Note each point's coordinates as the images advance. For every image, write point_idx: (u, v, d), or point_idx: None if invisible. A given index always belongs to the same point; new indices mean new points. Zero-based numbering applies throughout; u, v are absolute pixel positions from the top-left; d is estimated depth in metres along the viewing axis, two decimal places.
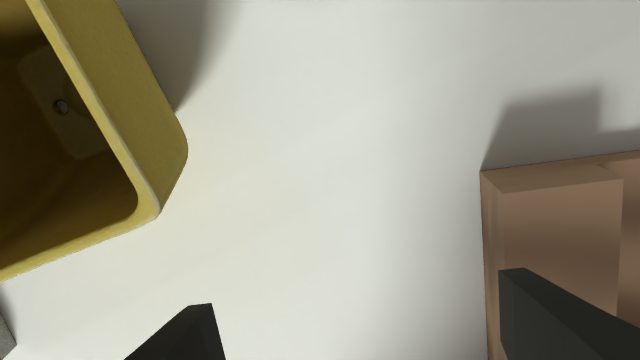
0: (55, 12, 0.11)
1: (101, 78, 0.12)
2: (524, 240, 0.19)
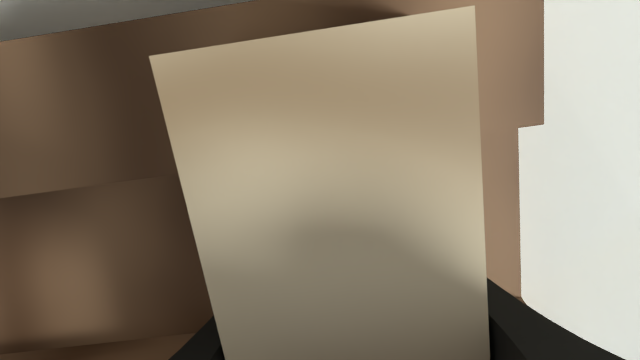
0: None
1: None
2: None
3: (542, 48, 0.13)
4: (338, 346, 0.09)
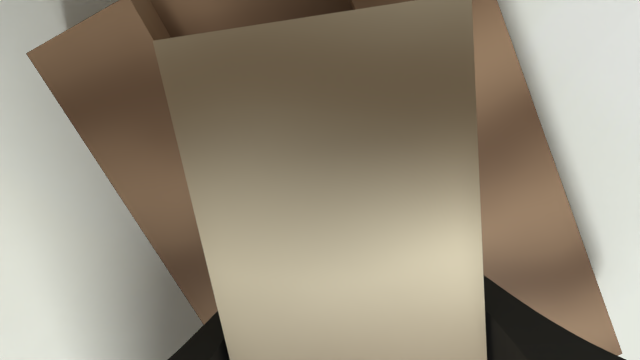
0: None
1: None
2: (76, 95, 0.18)
3: None
4: (337, 329, 0.09)
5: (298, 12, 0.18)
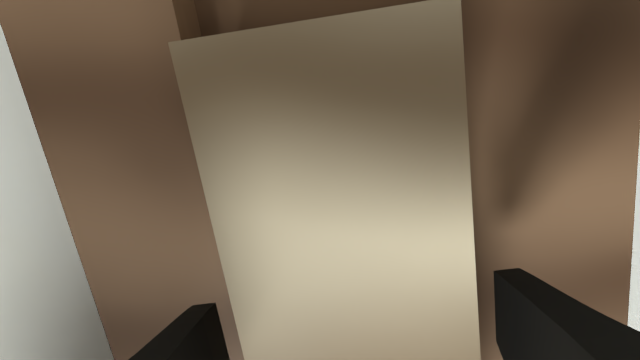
0: None
1: None
2: (47, 75, 0.12)
3: None
4: (339, 310, 0.10)
5: None
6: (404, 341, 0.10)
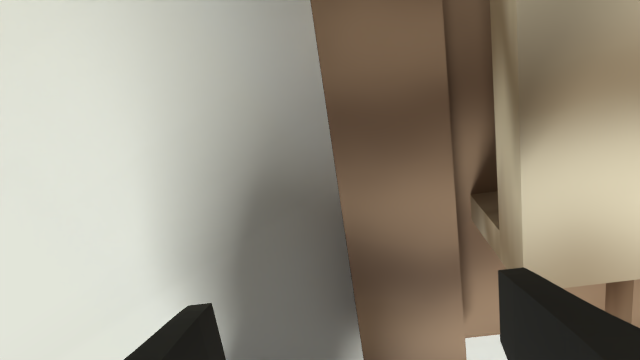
0: None
1: None
2: None
3: None
4: (602, 10, 0.12)
5: None
6: None
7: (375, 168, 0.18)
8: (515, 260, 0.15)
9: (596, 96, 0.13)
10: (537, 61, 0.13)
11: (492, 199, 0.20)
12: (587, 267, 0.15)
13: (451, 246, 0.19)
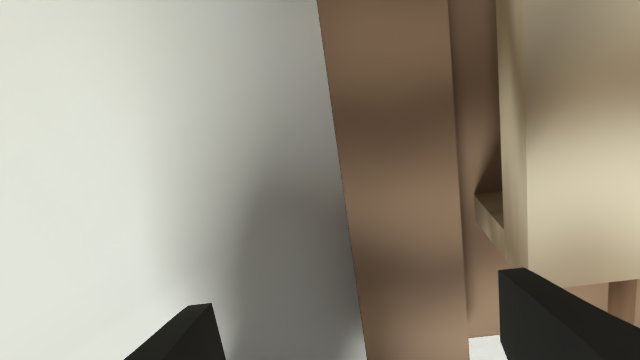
0: None
1: None
2: None
3: None
4: (607, 10, 0.12)
5: None
6: None
7: (380, 167, 0.18)
8: (520, 259, 0.15)
9: (602, 95, 0.13)
10: (544, 60, 0.13)
11: (496, 199, 0.20)
12: (592, 266, 0.15)
13: (455, 246, 0.19)
